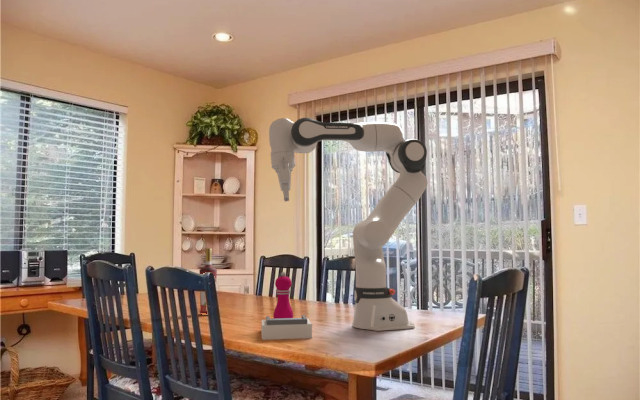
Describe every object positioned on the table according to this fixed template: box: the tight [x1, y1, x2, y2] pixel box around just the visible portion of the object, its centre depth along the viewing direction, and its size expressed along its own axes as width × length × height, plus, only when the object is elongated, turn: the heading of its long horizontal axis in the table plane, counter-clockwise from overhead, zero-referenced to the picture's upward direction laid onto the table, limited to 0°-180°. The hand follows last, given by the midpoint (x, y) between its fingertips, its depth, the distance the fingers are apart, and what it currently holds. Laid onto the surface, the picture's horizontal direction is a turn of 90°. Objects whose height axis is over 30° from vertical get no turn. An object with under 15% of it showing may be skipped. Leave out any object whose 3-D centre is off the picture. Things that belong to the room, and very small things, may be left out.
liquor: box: [198, 248, 218, 314], centre depth 203 cm, size 7×7×28 cm
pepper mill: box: [272, 271, 294, 319], centre depth 172 cm, size 7×7×20 cm
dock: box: [260, 314, 313, 341], centre depth 159 cm, size 16×14×6 cm
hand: (286, 199), depth 173 cm, fingers open, 8 cm apart
